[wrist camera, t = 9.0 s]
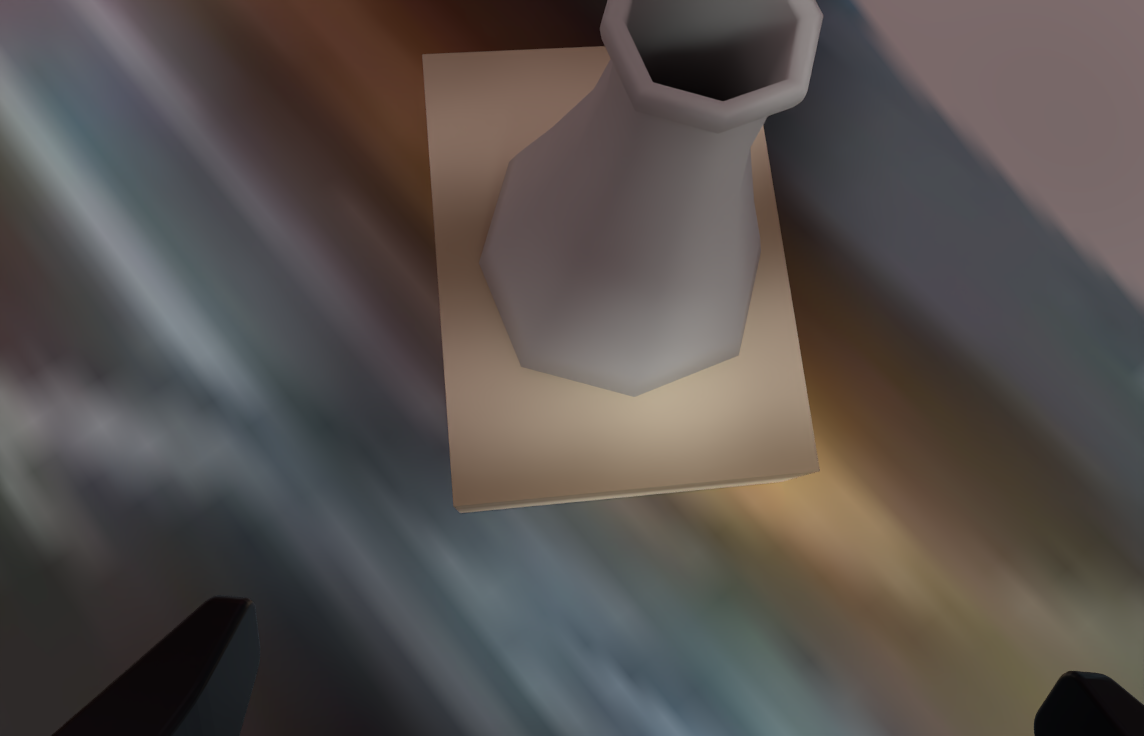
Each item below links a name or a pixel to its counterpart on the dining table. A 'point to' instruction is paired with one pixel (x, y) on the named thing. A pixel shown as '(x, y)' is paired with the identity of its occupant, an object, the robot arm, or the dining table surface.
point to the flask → (648, 195)
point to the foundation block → (565, 407)
